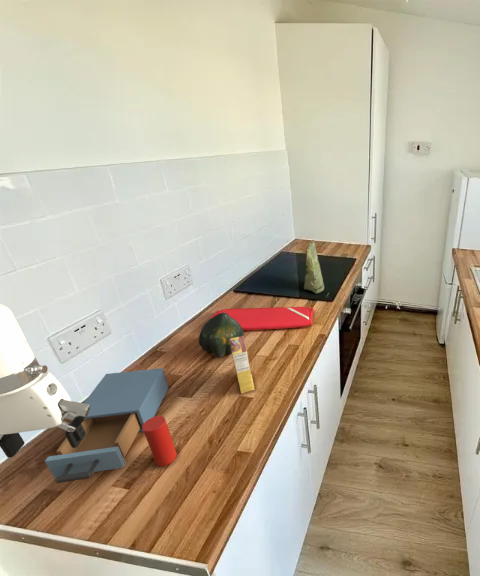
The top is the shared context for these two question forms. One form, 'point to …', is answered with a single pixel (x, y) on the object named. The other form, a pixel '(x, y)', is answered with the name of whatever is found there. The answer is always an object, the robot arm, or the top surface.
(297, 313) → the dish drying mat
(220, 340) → the squash
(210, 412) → the top surface
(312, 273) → the pale green cone
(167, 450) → the tin
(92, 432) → the drawer
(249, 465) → the top surface
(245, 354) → the candy box
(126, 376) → the cabinet
